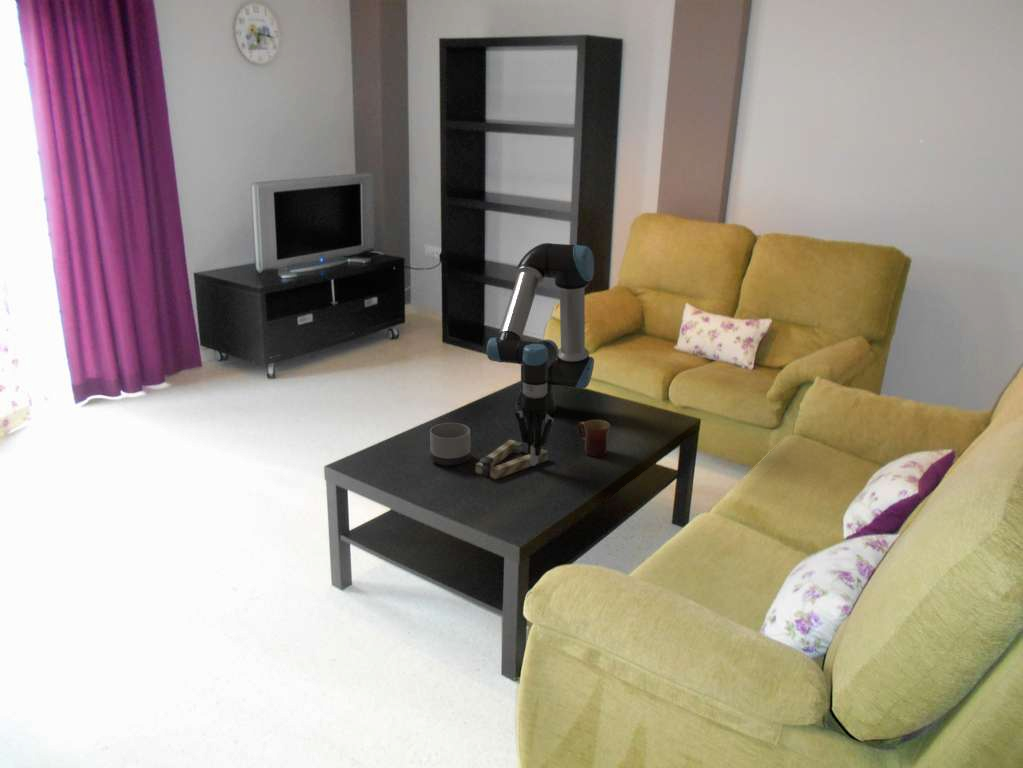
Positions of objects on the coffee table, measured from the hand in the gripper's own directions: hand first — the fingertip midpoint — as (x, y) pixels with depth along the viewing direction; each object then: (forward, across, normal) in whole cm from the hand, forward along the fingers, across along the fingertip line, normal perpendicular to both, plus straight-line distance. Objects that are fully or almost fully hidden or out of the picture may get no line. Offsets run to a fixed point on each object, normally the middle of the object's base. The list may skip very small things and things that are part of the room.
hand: (534, 463), depth 265 cm
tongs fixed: (+1, -11, -2) cm, 12 cm away
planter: (+2, -26, -8) cm, 28 cm away
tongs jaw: (+1, -4, -3) cm, 5 cm away
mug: (+2, +11, +21) cm, 23 cm away
